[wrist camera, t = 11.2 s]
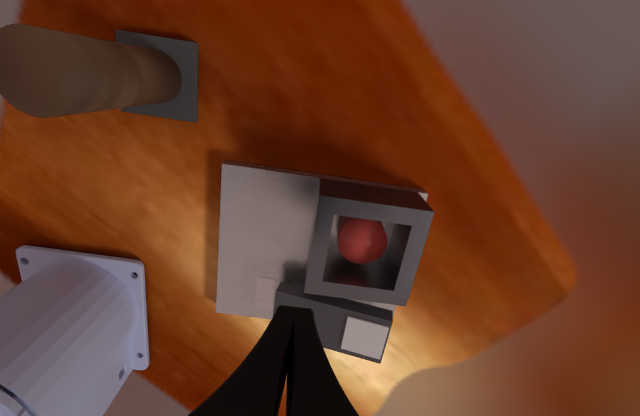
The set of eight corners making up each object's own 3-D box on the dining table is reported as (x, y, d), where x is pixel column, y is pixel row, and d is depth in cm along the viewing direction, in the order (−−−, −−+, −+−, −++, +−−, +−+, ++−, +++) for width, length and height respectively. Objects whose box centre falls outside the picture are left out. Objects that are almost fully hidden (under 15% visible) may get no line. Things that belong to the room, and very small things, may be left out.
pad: (197, 121, 19) (194, 122, 18) (125, 110, 18) (121, 111, 18) (198, 43, 17) (195, 42, 17) (119, 30, 17) (115, 29, 17)
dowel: (184, 103, 18) (85, 118, 10) (136, 102, 18) (2, 116, 10) (178, 50, 17) (64, 24, 9) (127, 49, 17) (-27, 22, 9)
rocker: (381, 351, 21) (380, 365, 20) (276, 322, 22) (270, 333, 21) (392, 310, 20) (392, 322, 19) (281, 281, 21) (275, 291, 20)
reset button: (377, 253, 21) (381, 266, 19) (333, 247, 20) (334, 260, 19) (387, 213, 20) (392, 223, 18) (341, 206, 19) (342, 216, 18)
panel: (385, 325, 24) (396, 369, 20) (219, 304, 23) (200, 345, 20) (424, 189, 20) (445, 213, 16) (225, 160, 19) (204, 178, 16)
